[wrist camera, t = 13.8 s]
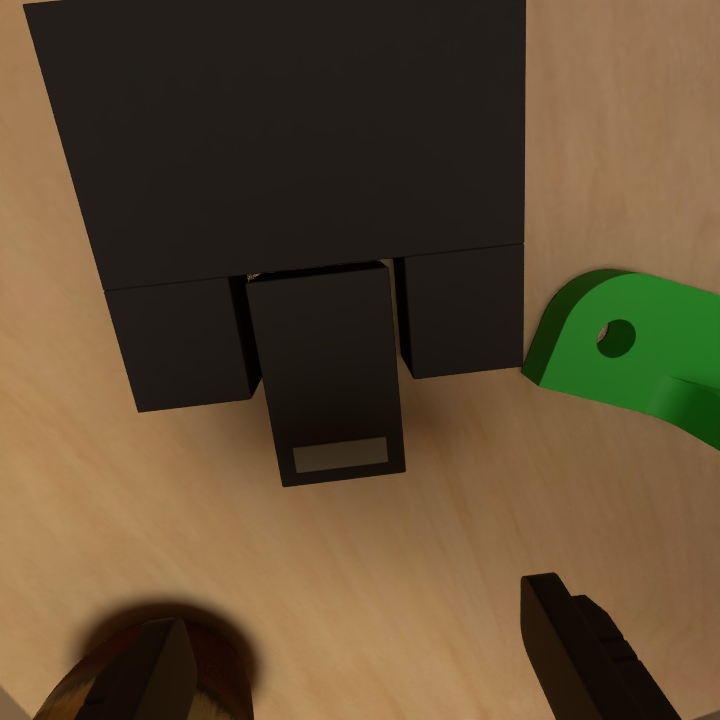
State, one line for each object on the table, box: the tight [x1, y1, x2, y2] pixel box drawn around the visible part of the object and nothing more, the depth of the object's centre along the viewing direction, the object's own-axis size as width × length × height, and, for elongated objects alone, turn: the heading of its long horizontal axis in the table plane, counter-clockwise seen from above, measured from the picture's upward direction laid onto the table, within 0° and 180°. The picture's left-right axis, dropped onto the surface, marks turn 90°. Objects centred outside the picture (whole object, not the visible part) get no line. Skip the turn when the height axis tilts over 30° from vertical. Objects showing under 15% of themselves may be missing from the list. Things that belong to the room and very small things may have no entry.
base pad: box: [23, 0, 526, 413], centre depth 17 cm, size 16×14×4 cm
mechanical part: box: [521, 269, 720, 451], centre depth 18 cm, size 12×6×8 cm, turn 75°
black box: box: [245, 261, 406, 487], centre depth 19 cm, size 6×9×4 cm, turn 6°
